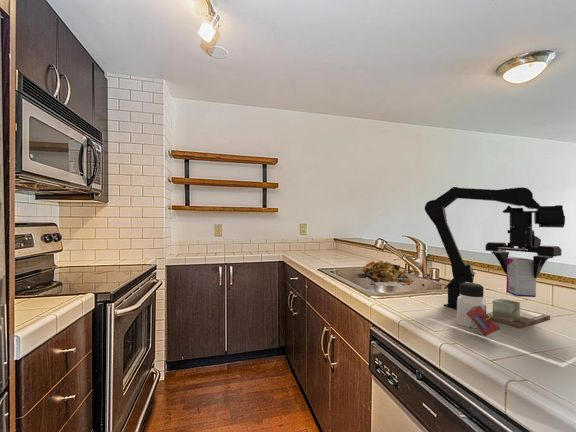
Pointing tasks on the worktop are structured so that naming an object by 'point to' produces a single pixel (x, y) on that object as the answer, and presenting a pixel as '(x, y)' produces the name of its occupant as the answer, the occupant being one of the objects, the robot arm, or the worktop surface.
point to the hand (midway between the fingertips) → (520, 275)
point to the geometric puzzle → (482, 320)
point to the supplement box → (520, 277)
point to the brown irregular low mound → (386, 274)
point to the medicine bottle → (469, 302)
